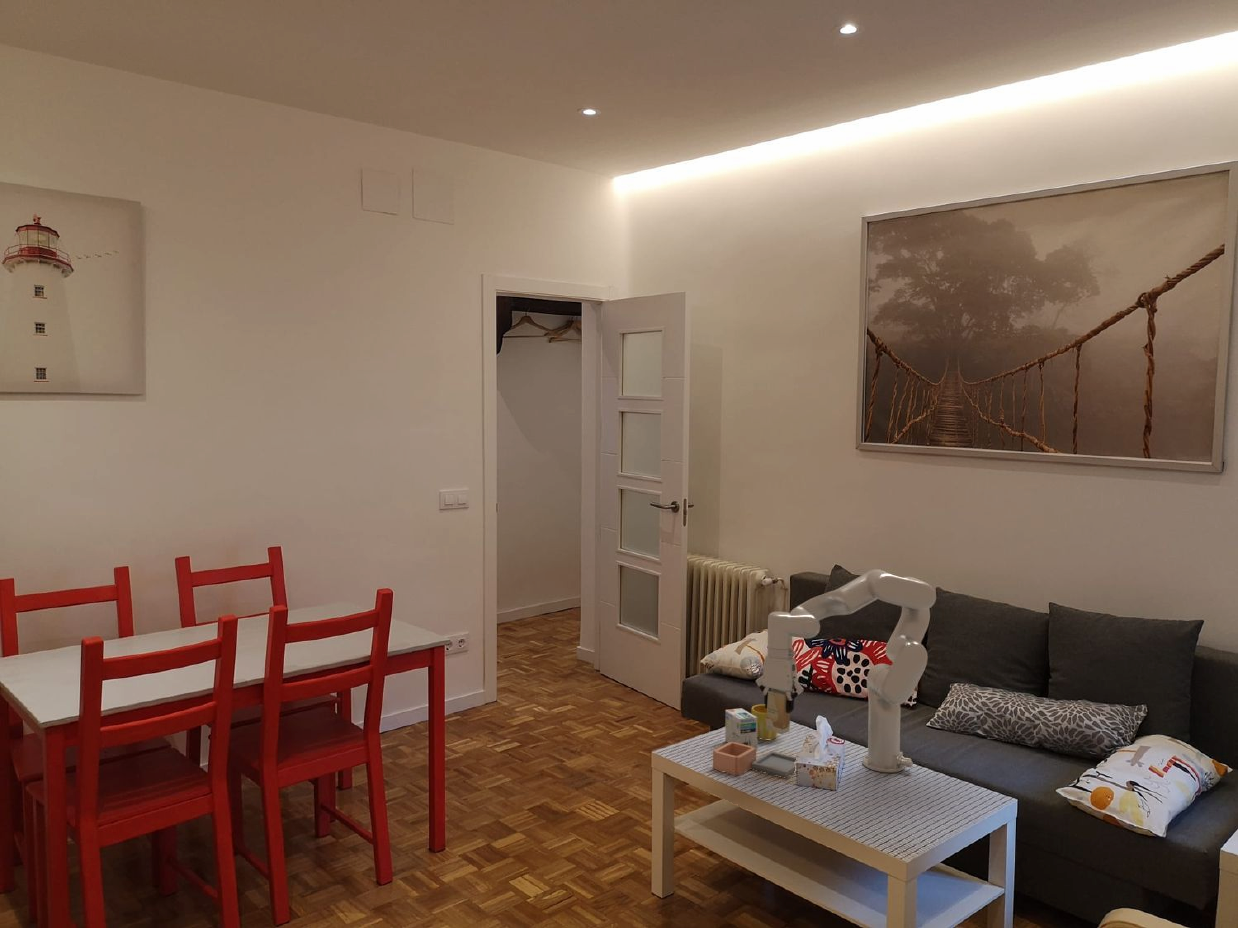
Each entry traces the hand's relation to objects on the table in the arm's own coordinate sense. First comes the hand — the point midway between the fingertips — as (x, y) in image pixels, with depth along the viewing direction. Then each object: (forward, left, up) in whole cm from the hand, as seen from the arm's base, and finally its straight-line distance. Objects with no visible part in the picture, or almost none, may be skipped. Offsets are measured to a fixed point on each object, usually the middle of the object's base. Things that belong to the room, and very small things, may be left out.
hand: (778, 709), depth 272 cm
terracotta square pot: (+11, +8, -18) cm, 23 cm away
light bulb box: (+19, -10, -19) cm, 28 cm away
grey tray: (0, 0, -18) cm, 18 cm away
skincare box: (0, 0, -7) cm, 7 cm away
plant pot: (+16, -22, -19) cm, 33 cm away
